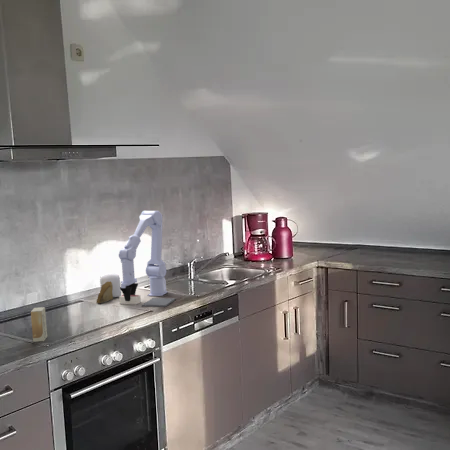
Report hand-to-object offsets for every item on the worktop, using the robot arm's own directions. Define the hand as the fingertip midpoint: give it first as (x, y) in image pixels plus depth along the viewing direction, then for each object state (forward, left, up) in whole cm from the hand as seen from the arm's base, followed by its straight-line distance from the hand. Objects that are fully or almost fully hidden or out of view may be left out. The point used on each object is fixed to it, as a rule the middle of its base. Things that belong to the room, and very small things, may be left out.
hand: (130, 299), depth 280 cm
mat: (0, +15, -2) cm, 15 cm away
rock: (-3, -15, -2) cm, 16 cm away
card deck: (0, 0, -2) cm, 2 cm away
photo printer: (-11, -15, -2) cm, 19 cm away
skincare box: (+62, -11, -2) cm, 63 cm away
